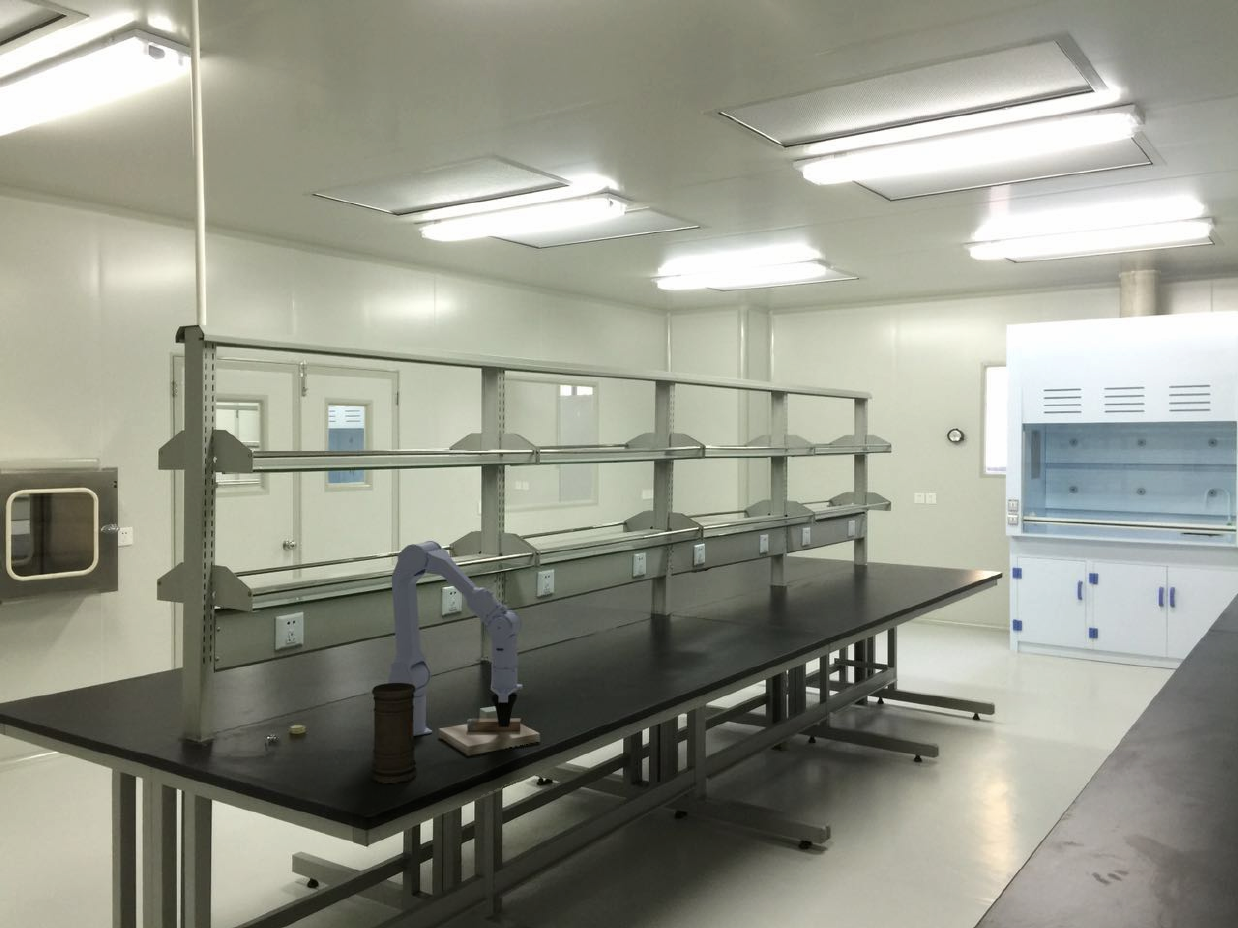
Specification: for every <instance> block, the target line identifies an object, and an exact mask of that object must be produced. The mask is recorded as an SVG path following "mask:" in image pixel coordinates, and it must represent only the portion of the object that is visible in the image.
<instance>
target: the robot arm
mask: <svg viewBox="0 0 1238 928" xmlns="http://www.w3.org/2000/svg"><path fill="white" fill-rule="evenodd" d="M425 574H431V575H439V576H441V577H442V578H443V579H444V580H446V582H447V583H449V584H450V585H451V586H453V588H455V589H456V590H457V591H458V592H459V593H460V594H461V595H462V596H463V597H464V598H465V601H466V603H465V604H466V606H467V608H468V609H469V610H470V611H471V612H472V613H473V614H474V615H475V616H476V617H477V618H478V619H479V620H480V621H481V622H482V623H483V624H484V625H485V626H487V627H486V630H487V633H488V635H489V636H490V638H491V685H490V690H491V692H493V693H492V694H491V697H490V698H491V701H492V703H493V705H494V706H495V708H496V711H497V717H498V723H499V727H509V723H510V718H511V717H512V710H513V707H514V704H515V703H516V700H517V699H518V693H517V692H516V691H517V690H523V684H522V683H521V684H520V683H518V633H519V632H520V630H521V627H522V620H521V617H520V615H518V612H517V611H516V610H512V609H508V607H507V605H503V604H502V602H500V601H499V600H498V599H497V598H496V597H495V596H494V595H493V594H494V592H493V591H492V589H487V588H486V587H478V586H476V584H475V583H474V581H472V580H471V579H470V578H469V576H468V575H467V574H466V573H465V572H464V571H463V570H462V569H461V568H460V567H459V565H458V564H457V563H456V561H454V559H453V558H452V557H451V556H450V554H449V552H448V550H446V549H445V548H443V547H442V546H441V544H439V543H438V541H435V540H427V541H424V542H420V543H415V544H413V543H412V544H407V546H405V547H404V548H403V549H402V550H401V551H400V552H399V553H398V554H397V562H396V565H395V567H394V570H393V572H392V574H391V588H392V592H391V593H392V604H393V618H394V619H393V620H394V633H395V634H394V636H395V647H396V648H395V650H396V654H395V655H394V658H393V659H392V661H391V664H390V674H389V675H388V679H387V680H388V681H387V682H388V683H408V684H412V685H414V686H415V689H416V691H415V693H414V699H413V706H414V709H413V737H414V736H421V735H426V734H427V735H428V734H432V733H433V730H431V729H430V728H428V727H427V726H426V723H427V722H426V719H427V718H426V717H427V716H426V715H427V714H426V713H427V712H426V706H427V705H426V704H427V700H426V699H427V698H426V697H427V696H426V695H427V694H426V693H427V691H426V689H427V685H428V684H429V683H430V681H431V678H432V677H431V676H432V672H431V669H430V667H429V666H428V663H427V656H426V655H425V653H424V652H422V650H421V640H420V626H419V625H420V624H419V623H420V622H419V610H418V608H419V607H418V596H417V582H418V581H419V580H420V579H421V578H422V577H423V576H424V575H425ZM511 719H512V718H511Z"/></svg>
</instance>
